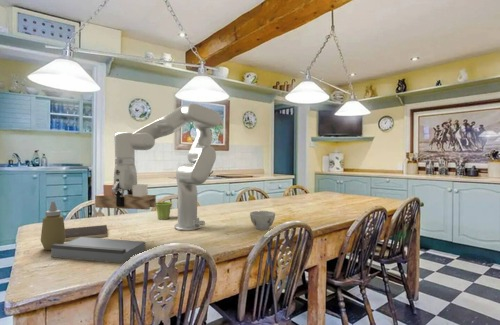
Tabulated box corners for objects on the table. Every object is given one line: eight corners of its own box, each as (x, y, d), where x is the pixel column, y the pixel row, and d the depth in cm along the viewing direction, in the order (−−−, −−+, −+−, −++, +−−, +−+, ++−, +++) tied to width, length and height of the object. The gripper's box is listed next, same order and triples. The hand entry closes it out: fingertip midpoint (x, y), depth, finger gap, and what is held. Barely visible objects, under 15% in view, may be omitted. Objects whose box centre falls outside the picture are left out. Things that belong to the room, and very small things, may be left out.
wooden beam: (155, 206, 121) (155, 195, 121) (148, 209, 115) (148, 197, 115) (105, 204, 125) (104, 193, 125) (95, 207, 119) (95, 195, 119)
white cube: (147, 195, 120) (147, 184, 120) (141, 196, 116) (141, 185, 116) (138, 194, 121) (138, 184, 121) (132, 196, 117) (132, 185, 117)
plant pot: (165, 215, 169) (165, 201, 169) (175, 218, 163) (175, 203, 163) (151, 218, 161) (151, 203, 161) (162, 221, 156) (162, 205, 155)
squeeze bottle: (48, 244, 114) (48, 199, 113) (70, 244, 115) (69, 199, 114) (35, 251, 106) (34, 203, 105) (58, 251, 107) (58, 203, 106)
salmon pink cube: (119, 194, 123) (118, 183, 123) (112, 195, 118) (112, 184, 118) (110, 193, 124) (110, 183, 123) (103, 195, 119) (103, 184, 119)
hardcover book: (107, 237, 126) (107, 232, 126) (43, 245, 115) (43, 239, 115) (106, 229, 140) (106, 224, 140) (49, 234, 130) (49, 229, 129)
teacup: (280, 229, 142) (280, 213, 141) (262, 233, 133) (262, 216, 133) (259, 223, 153) (259, 208, 153) (241, 227, 145) (241, 211, 145)
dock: (145, 249, 110) (145, 238, 110) (122, 262, 96) (122, 250, 96) (81, 244, 115) (81, 234, 115) (51, 256, 101) (51, 244, 101)
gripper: (120, 163, 110) (120, 209, 111) (144, 161, 127) (144, 201, 128) (102, 162, 111) (103, 208, 112) (129, 161, 128) (129, 201, 129)
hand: (125, 204), depth 120 cm, fingers closed on wooden beam, 6 cm apart
